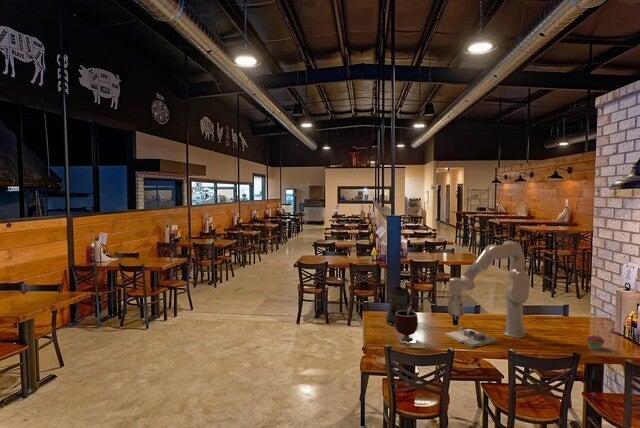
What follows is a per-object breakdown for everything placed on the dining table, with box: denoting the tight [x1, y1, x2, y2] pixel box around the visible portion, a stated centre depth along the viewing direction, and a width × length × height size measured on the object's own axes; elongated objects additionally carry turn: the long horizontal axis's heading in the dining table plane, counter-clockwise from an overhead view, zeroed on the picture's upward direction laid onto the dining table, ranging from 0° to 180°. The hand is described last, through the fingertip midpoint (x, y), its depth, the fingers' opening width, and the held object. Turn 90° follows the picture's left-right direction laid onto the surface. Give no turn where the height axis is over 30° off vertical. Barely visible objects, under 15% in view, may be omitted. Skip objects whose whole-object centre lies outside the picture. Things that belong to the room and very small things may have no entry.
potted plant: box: [385, 286, 412, 324], centre depth 286 cm, size 16×19×25 cm
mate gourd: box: [394, 305, 419, 342], centre depth 249 cm, size 16×14×20 cm
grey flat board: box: [445, 328, 498, 348], centre depth 249 cm, size 22×20×5 cm
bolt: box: [455, 322, 470, 334], centre depth 255 cm, size 10×2×6 cm, turn 24°
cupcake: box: [586, 328, 605, 351], centre depth 231 cm, size 9×8×12 cm
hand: (455, 325), depth 261 cm, fingers closed
